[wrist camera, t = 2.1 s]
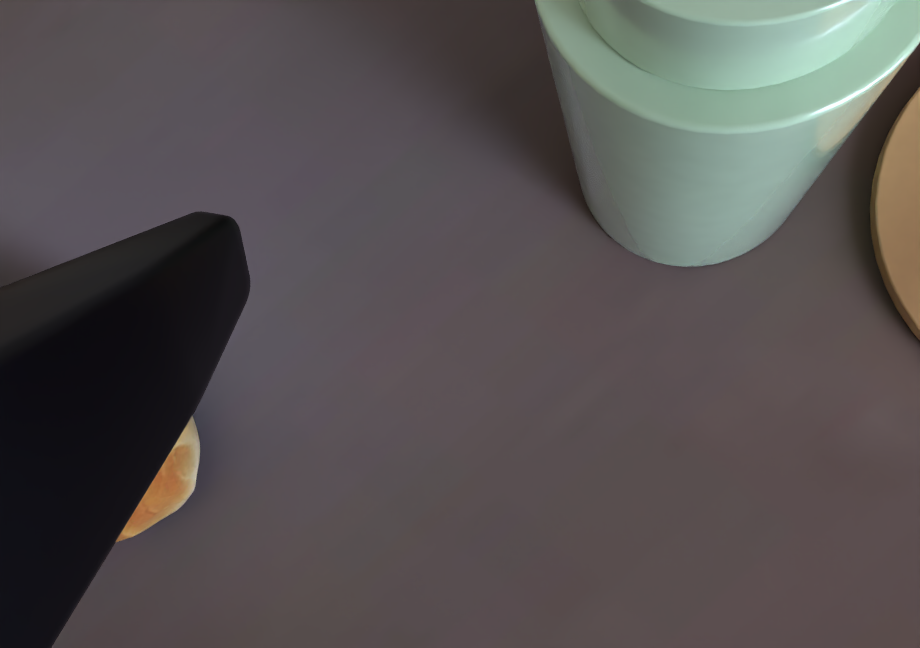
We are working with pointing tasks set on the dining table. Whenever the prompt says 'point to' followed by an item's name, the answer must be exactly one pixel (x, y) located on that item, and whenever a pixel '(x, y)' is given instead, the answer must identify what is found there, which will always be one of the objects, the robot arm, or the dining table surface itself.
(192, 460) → the pastry
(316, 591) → the dining table surface
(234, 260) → the robot arm
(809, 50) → the pepper mill
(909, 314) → the cork trivet
